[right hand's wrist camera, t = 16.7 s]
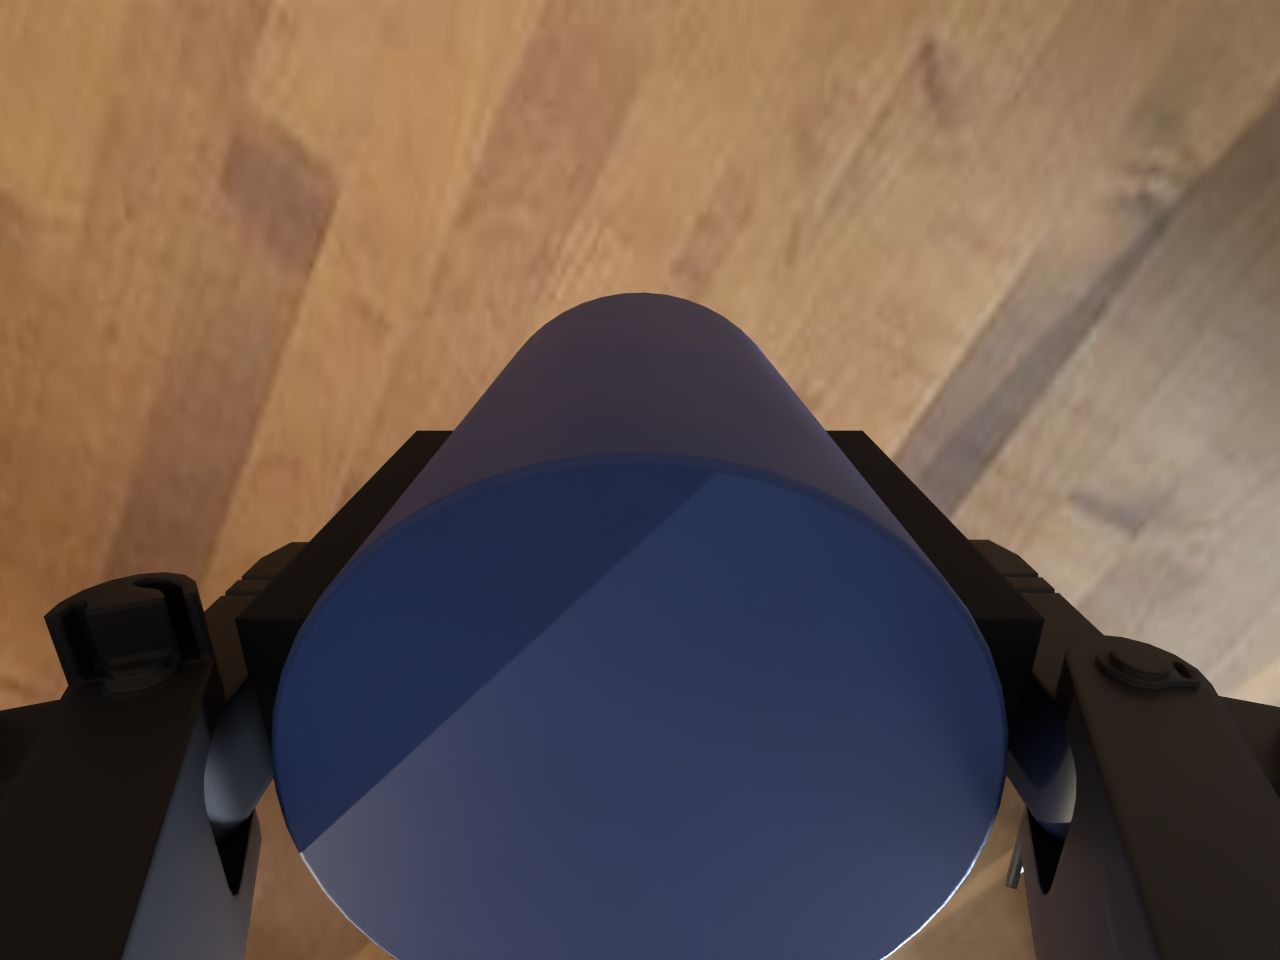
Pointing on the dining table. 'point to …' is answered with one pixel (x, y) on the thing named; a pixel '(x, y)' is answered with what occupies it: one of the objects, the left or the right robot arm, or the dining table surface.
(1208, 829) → the right robot arm
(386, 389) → the dining table surface
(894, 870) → the canister
